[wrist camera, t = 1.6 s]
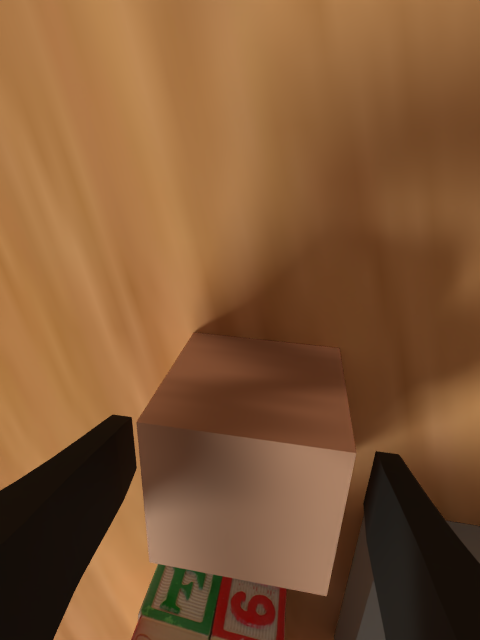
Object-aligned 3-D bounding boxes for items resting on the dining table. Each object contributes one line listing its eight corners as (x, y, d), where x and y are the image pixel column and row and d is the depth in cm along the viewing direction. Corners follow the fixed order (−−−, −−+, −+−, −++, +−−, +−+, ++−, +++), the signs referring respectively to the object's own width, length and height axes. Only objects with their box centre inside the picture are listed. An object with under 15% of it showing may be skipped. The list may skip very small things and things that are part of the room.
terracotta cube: (339, 346, 13) (356, 453, 8) (320, 460, 15) (326, 596, 10) (194, 331, 13) (136, 421, 9) (195, 442, 15) (149, 562, 11)
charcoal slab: (609, 538, 14) (677, 627, 12) (526, 666, 18) (565, 757, 15) (364, 498, 16) (375, 571, 13) (333, 627, 19) (337, 704, 17)
